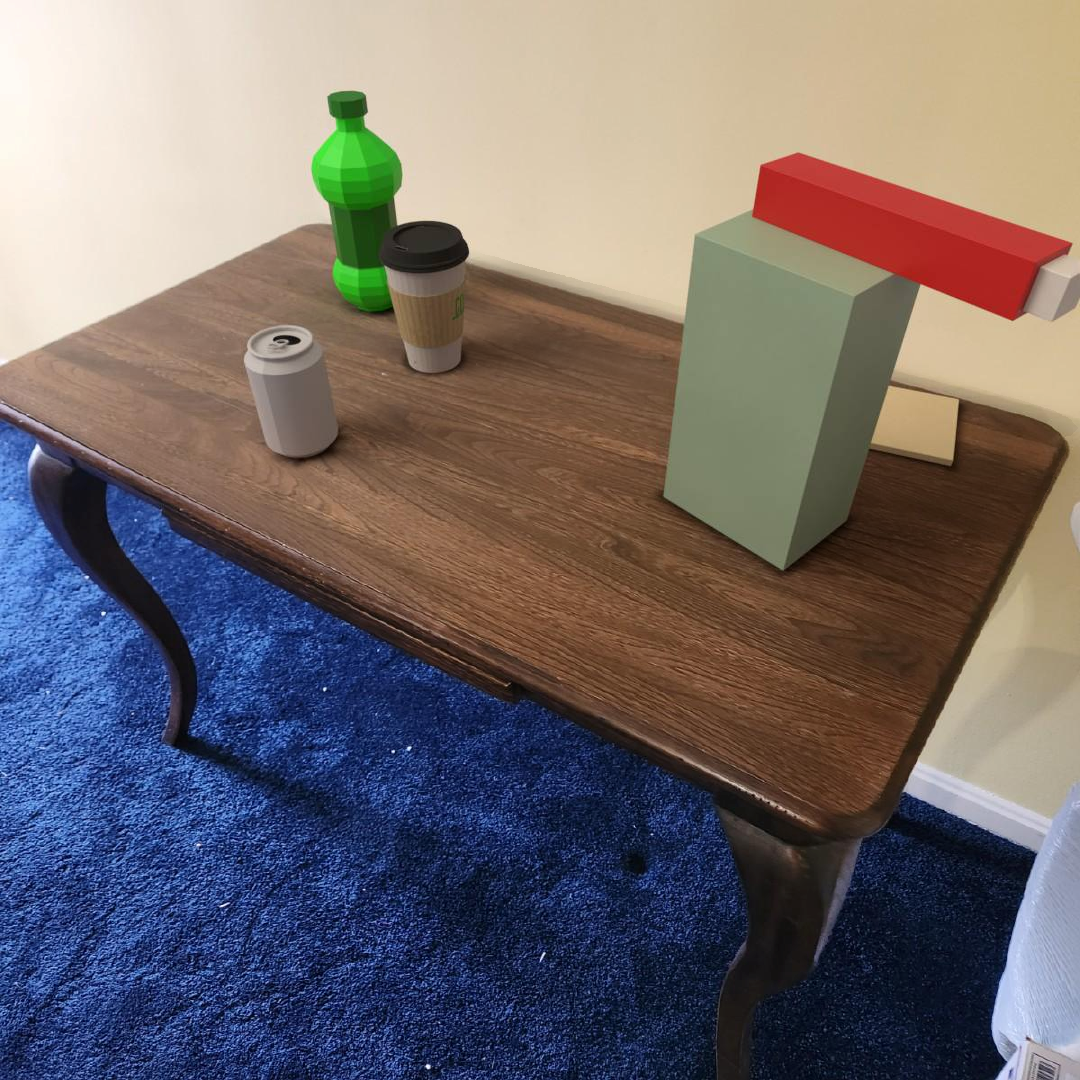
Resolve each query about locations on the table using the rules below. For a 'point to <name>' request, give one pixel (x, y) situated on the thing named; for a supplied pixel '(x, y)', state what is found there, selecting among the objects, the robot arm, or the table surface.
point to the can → (291, 391)
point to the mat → (917, 425)
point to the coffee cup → (427, 290)
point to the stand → (780, 384)
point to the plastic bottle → (358, 200)
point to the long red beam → (921, 237)
